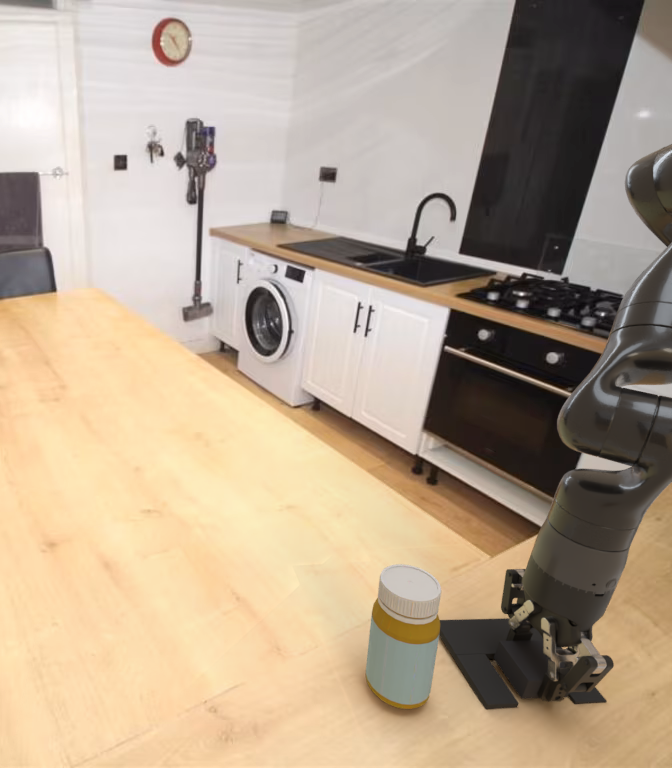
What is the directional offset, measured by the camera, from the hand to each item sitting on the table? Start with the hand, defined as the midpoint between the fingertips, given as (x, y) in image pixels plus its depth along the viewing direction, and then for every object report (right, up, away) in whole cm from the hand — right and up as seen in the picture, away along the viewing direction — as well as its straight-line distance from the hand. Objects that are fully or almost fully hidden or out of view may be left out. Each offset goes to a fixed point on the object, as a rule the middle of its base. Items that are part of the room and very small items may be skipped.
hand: (530, 674), depth 64 cm
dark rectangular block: (0, 0, 0) cm, 0 cm away
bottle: (-16, -1, 0) cm, 16 cm away
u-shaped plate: (0, 0, +3) cm, 3 cm away
